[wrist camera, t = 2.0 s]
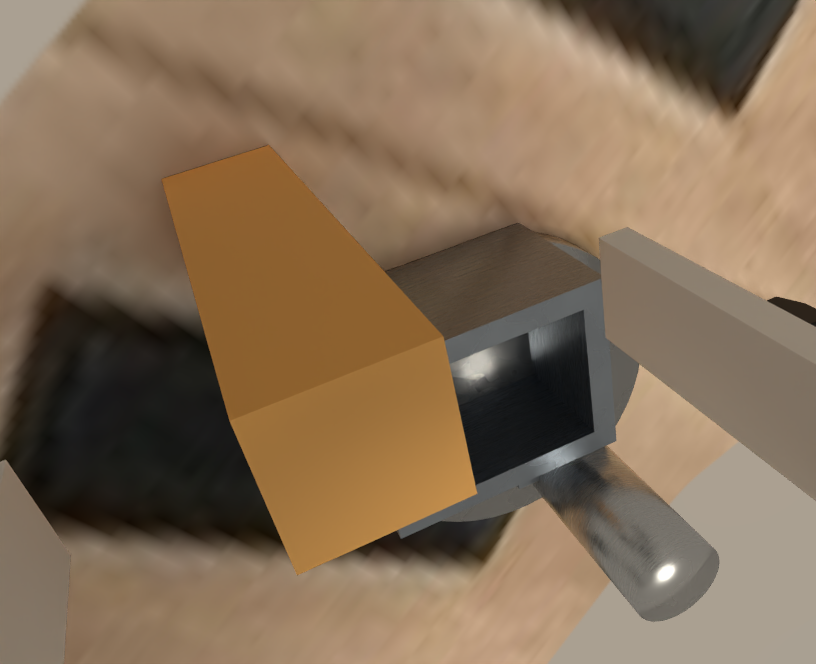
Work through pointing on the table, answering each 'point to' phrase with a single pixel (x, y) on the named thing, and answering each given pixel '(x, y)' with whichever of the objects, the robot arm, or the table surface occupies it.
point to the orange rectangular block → (317, 361)
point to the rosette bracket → (552, 408)
